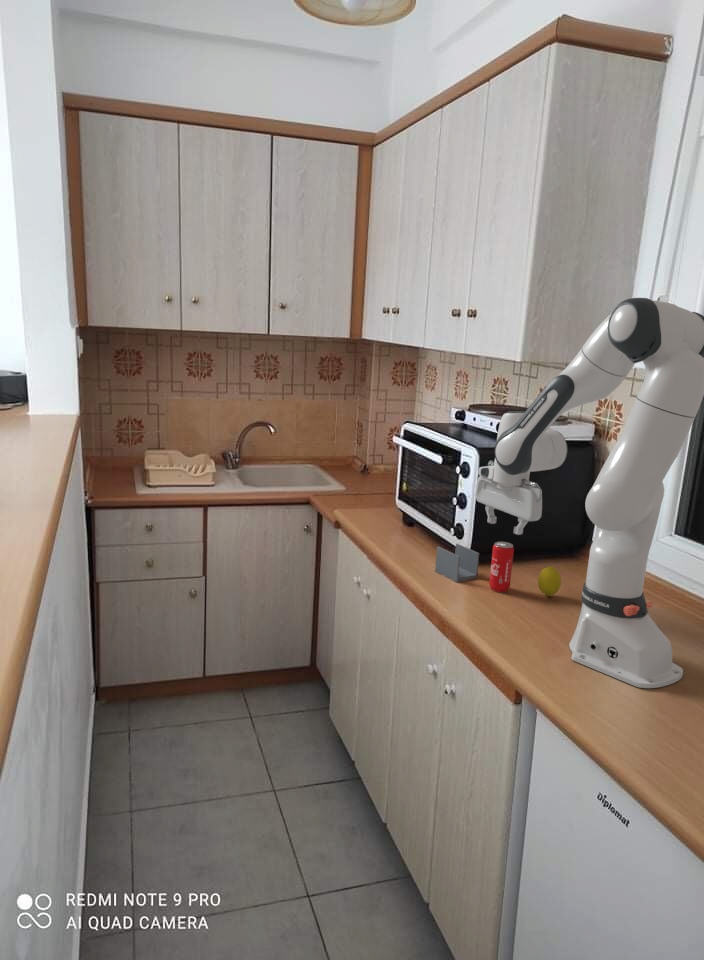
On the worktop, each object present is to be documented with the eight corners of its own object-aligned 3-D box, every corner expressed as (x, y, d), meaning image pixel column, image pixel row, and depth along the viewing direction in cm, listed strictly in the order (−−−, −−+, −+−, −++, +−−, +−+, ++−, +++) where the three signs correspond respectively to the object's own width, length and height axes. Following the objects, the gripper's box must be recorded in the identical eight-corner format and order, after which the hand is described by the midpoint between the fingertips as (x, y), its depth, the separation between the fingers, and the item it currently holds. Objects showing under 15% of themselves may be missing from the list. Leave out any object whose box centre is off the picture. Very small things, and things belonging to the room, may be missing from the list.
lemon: (552, 602, 176) (556, 571, 174) (532, 595, 179) (535, 565, 178) (562, 596, 180) (566, 566, 178) (542, 590, 183) (546, 561, 182)
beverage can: (509, 594, 180) (514, 548, 177) (488, 591, 181) (493, 546, 178) (509, 586, 185) (514, 542, 182) (489, 584, 186) (493, 540, 183)
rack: (476, 578, 190) (479, 553, 188) (456, 582, 186) (458, 556, 185) (455, 567, 197) (457, 543, 196) (435, 571, 194) (437, 546, 192)
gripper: (551, 484, 170) (544, 539, 173) (492, 465, 186) (486, 516, 190) (532, 485, 166) (525, 542, 169) (474, 466, 183) (468, 518, 186)
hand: (504, 528), depth 180 cm, fingers open, 8 cm apart
